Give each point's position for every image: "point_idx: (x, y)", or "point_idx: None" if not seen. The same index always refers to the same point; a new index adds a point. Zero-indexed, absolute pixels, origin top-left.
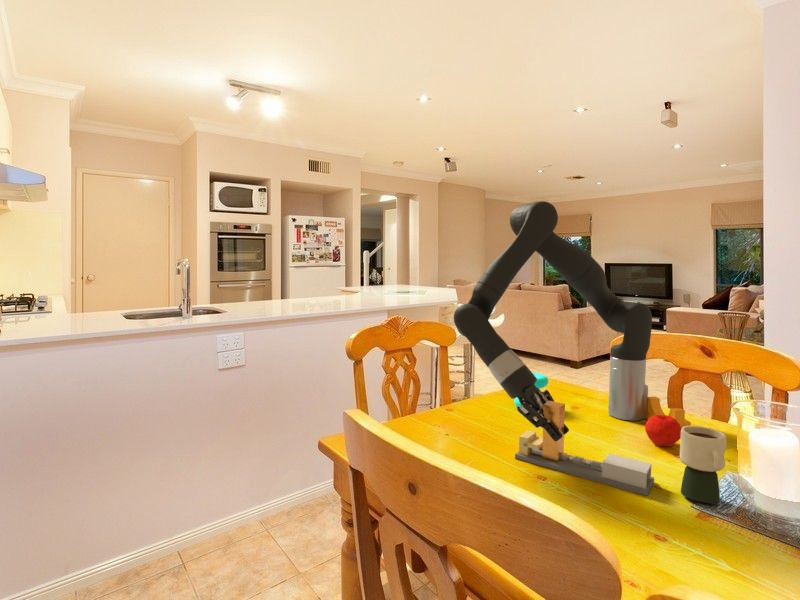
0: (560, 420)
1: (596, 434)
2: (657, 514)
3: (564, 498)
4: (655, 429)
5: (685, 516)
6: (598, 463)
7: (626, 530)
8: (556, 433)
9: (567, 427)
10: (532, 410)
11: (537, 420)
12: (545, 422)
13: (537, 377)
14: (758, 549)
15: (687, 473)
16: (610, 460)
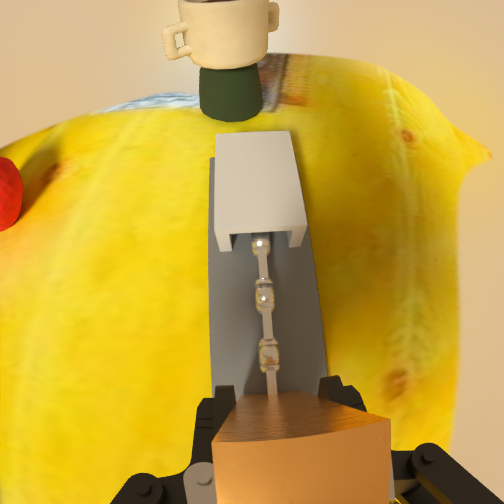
0: (317, 410)
1: (3, 353)
2: (348, 141)
3: (439, 286)
4: (5, 191)
5: (316, 114)
6: (266, 259)
7: (432, 170)
8: (353, 397)
9: (216, 395)
10: (491, 498)
11: (418, 486)
12: (399, 454)
13: None
14: (327, 69)
15: (248, 77)
16: (275, 209)
